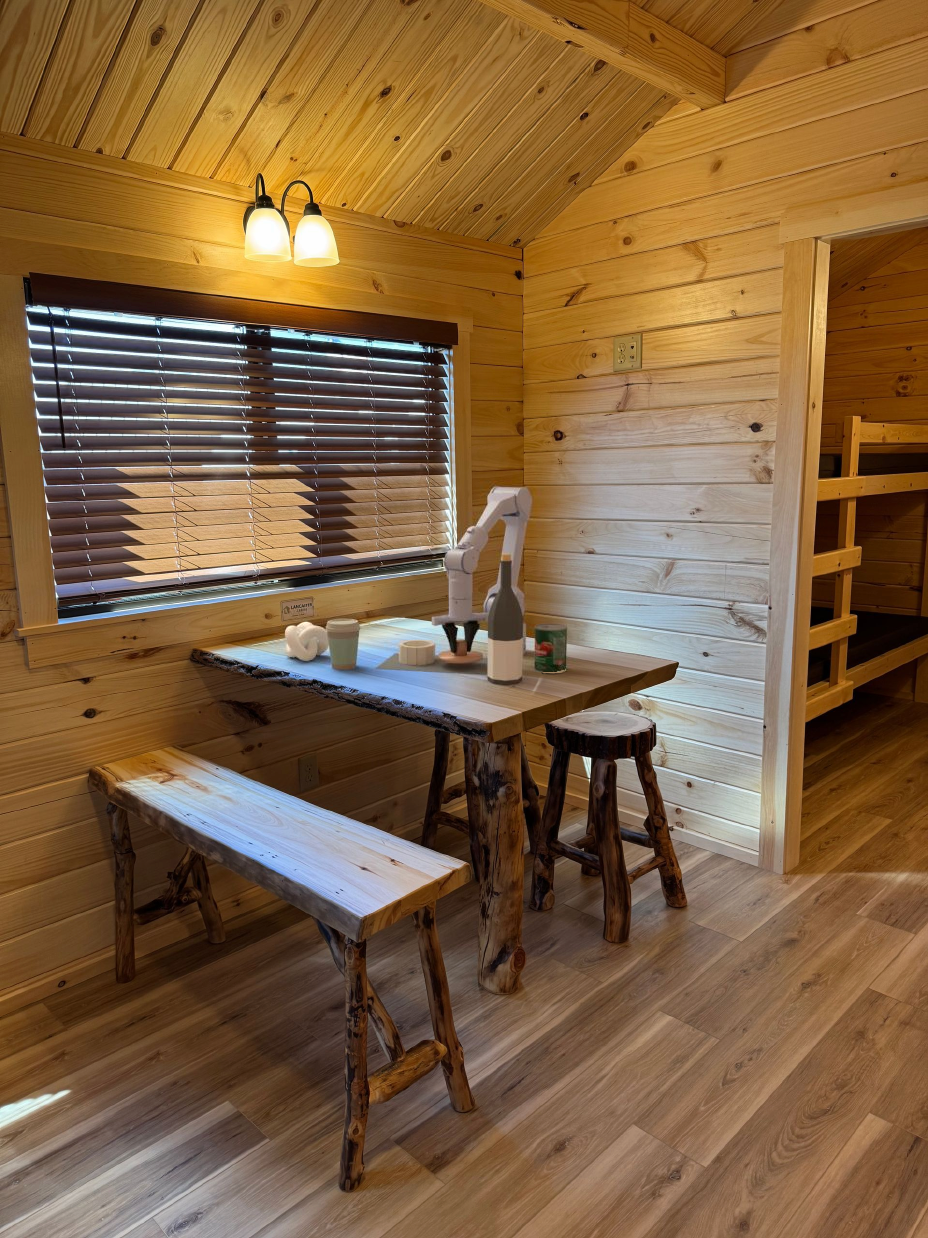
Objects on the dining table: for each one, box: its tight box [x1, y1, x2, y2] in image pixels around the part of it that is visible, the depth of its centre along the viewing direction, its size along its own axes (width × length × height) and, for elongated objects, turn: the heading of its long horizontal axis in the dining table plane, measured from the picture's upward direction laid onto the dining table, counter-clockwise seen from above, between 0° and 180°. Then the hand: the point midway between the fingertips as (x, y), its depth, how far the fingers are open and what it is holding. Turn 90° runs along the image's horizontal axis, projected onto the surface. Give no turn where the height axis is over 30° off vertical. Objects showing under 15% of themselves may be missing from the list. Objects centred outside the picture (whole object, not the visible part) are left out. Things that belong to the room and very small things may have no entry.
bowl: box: [398, 639, 436, 665], centre depth 214 cm, size 9×9×4 cm
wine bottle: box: [487, 553, 524, 686], centre depth 193 cm, size 8×8×30 cm
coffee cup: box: [324, 618, 361, 671], centre depth 207 cm, size 8×9×12 cm
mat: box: [375, 652, 488, 676], centre depth 211 cm, size 28×17×1 cm, turn 78°
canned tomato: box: [534, 622, 568, 673], centre depth 206 cm, size 8×8×11 cm
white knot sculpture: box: [284, 621, 329, 662], centre depth 218 cm, size 11×12×9 cm
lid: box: [438, 639, 484, 663], centre depth 208 cm, size 11×11×4 cm
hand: (460, 651), depth 208 cm, fingers closed on lid, 3 cm apart
